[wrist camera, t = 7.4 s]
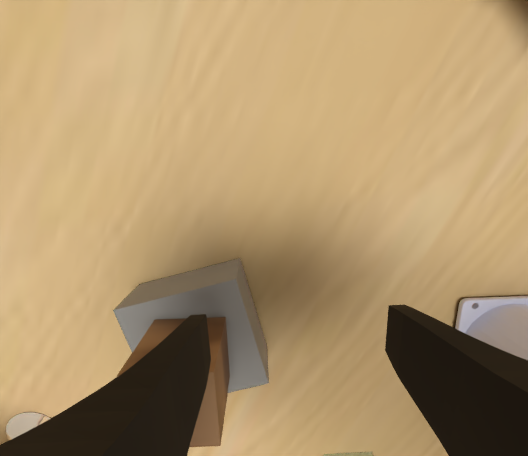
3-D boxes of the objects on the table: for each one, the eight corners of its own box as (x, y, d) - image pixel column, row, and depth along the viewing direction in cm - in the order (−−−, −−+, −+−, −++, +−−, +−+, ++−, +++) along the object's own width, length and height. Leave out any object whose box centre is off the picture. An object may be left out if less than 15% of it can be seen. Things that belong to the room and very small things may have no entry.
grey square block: (240, 256, 20) (235, 279, 16) (267, 344, 22) (268, 383, 18) (141, 282, 20) (113, 310, 16) (175, 366, 22) (158, 409, 18)
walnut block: (225, 316, 17) (213, 372, 12) (229, 375, 18) (220, 445, 13) (154, 319, 17) (117, 375, 12) (163, 378, 18) (131, 449, 13)
